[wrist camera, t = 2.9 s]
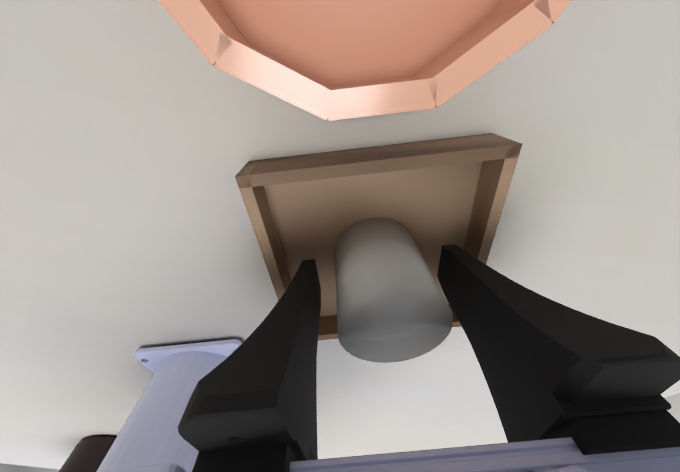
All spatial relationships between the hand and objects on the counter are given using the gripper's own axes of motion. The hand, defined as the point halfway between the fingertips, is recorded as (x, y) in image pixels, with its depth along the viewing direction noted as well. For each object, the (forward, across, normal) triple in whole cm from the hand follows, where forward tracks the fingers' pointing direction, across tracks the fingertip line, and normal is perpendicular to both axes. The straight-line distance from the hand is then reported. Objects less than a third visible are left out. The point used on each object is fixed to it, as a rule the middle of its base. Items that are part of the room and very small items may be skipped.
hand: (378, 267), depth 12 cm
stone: (+1, 0, 0) cm, 1 cm away
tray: (+2, 0, 0) cm, 2 cm away
